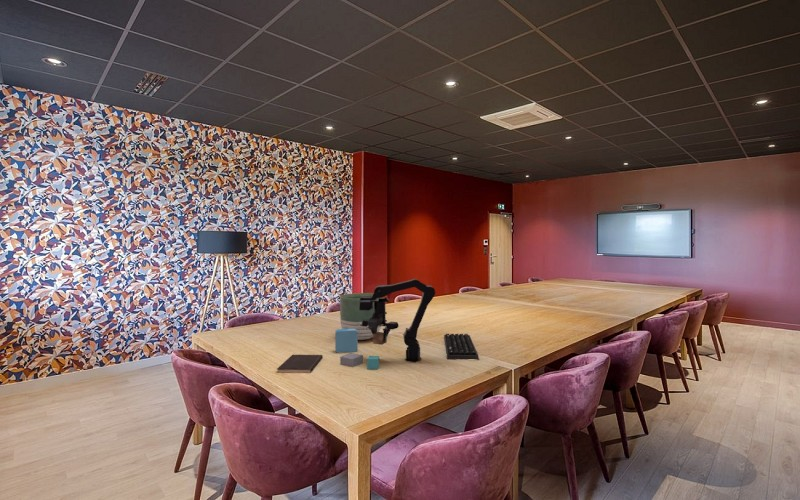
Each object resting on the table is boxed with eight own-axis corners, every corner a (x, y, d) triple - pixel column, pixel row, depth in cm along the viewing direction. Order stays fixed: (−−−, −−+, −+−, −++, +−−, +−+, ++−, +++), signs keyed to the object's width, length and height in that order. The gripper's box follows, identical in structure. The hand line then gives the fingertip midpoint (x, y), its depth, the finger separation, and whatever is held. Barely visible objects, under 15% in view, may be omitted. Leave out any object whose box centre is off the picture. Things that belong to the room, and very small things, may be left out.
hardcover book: (276, 373, 179) (276, 368, 179) (292, 358, 202) (292, 354, 202) (311, 374, 178) (310, 369, 178) (322, 359, 201) (322, 354, 201)
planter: (356, 346, 224) (356, 300, 223) (331, 338, 243) (331, 295, 243) (391, 338, 241) (391, 295, 241) (365, 331, 261) (365, 291, 261)
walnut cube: (386, 342, 198) (386, 332, 198) (381, 344, 194) (381, 334, 194) (378, 341, 200) (378, 331, 200) (373, 343, 196) (373, 333, 196)
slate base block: (363, 363, 193) (363, 355, 193) (352, 367, 186) (352, 359, 186) (350, 360, 197) (350, 352, 197) (340, 364, 191) (340, 356, 191)
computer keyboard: (444, 339, 243) (444, 332, 243) (469, 339, 242) (469, 333, 241) (447, 360, 198) (447, 352, 198) (478, 361, 197) (478, 353, 197)
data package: (357, 349, 217) (356, 328, 217) (357, 351, 213) (357, 330, 212) (335, 350, 215) (335, 329, 215) (335, 352, 210) (335, 331, 210)
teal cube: (379, 366, 187) (379, 356, 187) (377, 369, 182) (377, 359, 182) (369, 365, 188) (369, 355, 188) (367, 369, 183) (367, 358, 183)
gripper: (355, 311, 194) (355, 342, 194) (388, 314, 185) (388, 346, 186) (367, 308, 204) (367, 337, 204) (398, 310, 195) (398, 341, 195)
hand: (379, 340), depth 197 cm, fingers closed on walnut cube, 5 cm apart
